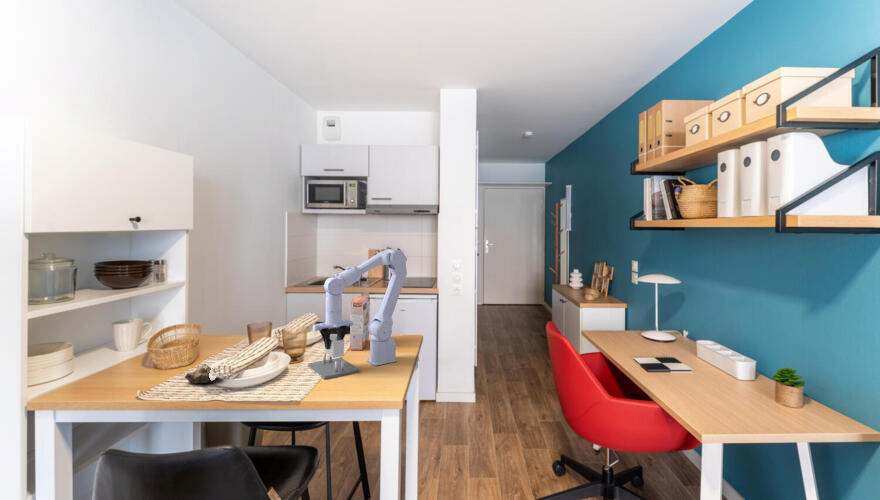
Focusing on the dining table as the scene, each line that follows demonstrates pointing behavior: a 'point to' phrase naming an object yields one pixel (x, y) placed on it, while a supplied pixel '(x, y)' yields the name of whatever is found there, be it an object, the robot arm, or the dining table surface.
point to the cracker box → (359, 322)
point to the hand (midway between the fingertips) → (333, 347)
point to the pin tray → (333, 367)
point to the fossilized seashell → (199, 375)
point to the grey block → (335, 346)
